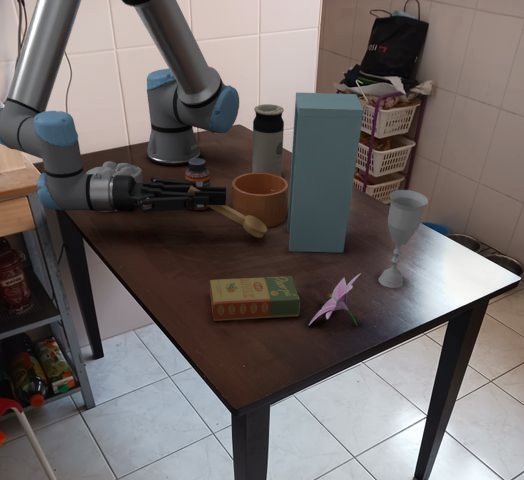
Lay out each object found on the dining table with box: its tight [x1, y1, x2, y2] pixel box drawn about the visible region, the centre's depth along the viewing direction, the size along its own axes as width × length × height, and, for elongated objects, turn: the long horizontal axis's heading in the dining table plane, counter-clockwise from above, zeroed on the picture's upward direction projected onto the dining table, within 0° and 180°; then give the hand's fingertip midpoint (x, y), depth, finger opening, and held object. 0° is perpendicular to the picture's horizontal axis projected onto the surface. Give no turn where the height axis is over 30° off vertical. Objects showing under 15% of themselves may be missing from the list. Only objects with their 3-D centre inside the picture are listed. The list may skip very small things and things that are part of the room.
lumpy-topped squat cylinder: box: [85, 160, 144, 213], centre depth 133 cm, size 10×13×9 cm
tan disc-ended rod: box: [188, 186, 268, 239], centre depth 118 cm, size 19×6×2 cm
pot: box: [231, 172, 289, 229], centre depth 129 cm, size 13×13×8 cm
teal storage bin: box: [286, 92, 365, 253], centre depth 113 cm, size 10×12×30 cm
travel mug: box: [251, 103, 285, 177], centre depth 143 cm, size 8×8×18 cm
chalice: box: [378, 189, 429, 289], centre depth 105 cm, size 7×7×18 cm
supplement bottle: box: [184, 158, 211, 211], centre depth 131 cm, size 6×6×11 cm
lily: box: [308, 272, 362, 326], centre depth 98 cm, size 12×12×10 cm
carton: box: [209, 275, 301, 322], centre depth 101 cm, size 8×16×4 cm, turn 98°
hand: (225, 196), depth 116 cm, fingers closed on tan disc-ended rod, 2 cm apart
